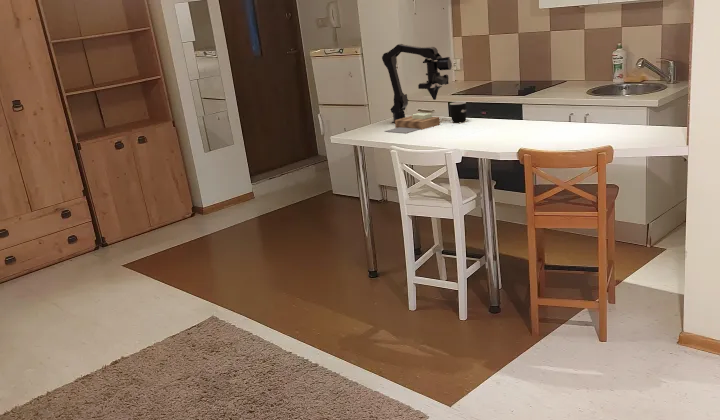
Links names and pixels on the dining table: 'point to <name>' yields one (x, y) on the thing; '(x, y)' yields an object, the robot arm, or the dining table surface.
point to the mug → (458, 111)
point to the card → (422, 115)
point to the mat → (402, 130)
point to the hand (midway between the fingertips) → (434, 99)
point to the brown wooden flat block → (417, 122)
